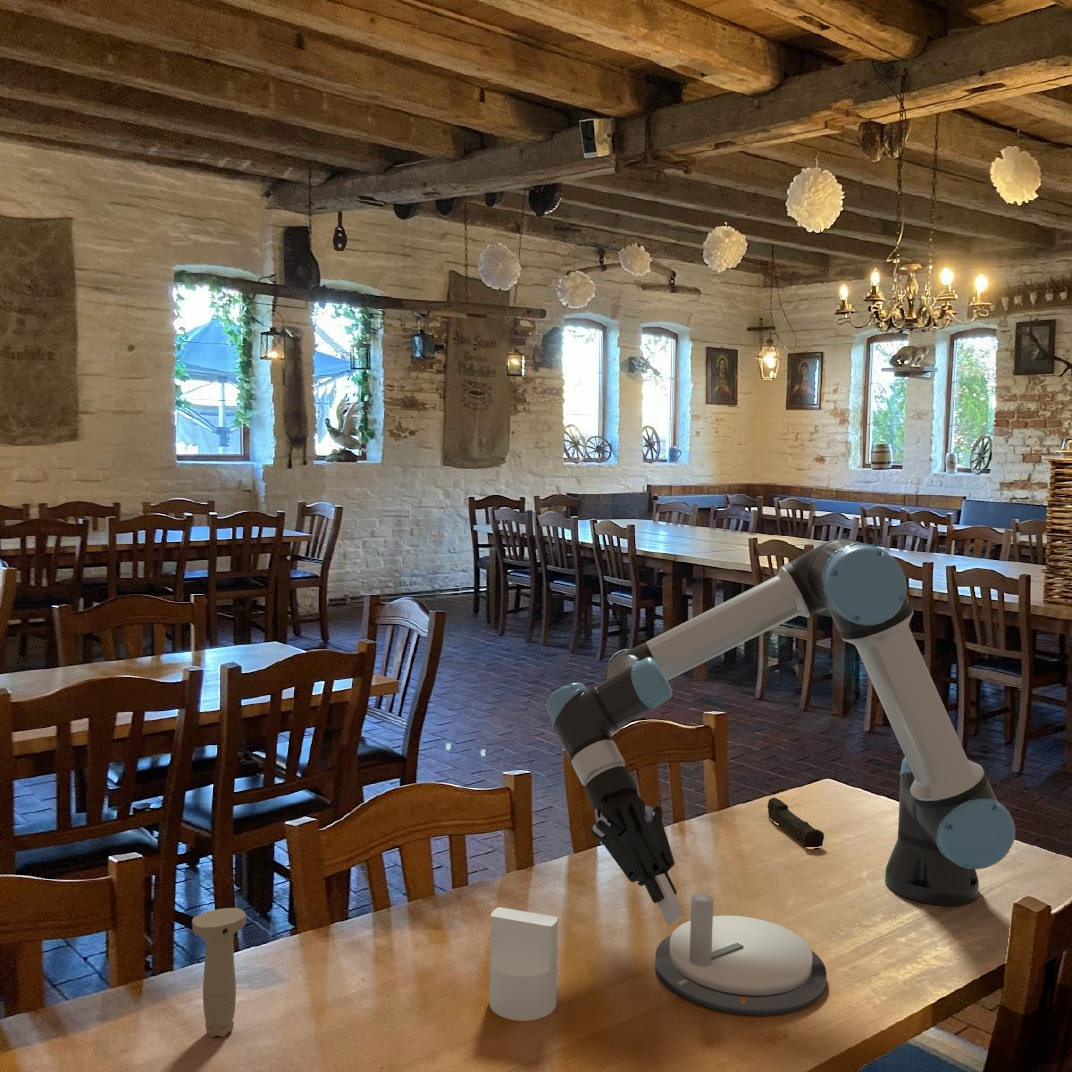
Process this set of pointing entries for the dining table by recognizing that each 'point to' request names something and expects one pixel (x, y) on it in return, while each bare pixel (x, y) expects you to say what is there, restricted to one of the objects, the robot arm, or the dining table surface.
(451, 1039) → the dining table surface
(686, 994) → the dial base
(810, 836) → the hand tool
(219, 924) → the handle
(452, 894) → the dining table surface
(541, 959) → the cylinder with rectangular tab
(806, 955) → the dial
